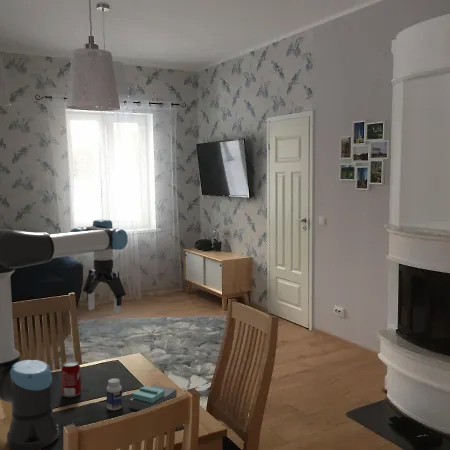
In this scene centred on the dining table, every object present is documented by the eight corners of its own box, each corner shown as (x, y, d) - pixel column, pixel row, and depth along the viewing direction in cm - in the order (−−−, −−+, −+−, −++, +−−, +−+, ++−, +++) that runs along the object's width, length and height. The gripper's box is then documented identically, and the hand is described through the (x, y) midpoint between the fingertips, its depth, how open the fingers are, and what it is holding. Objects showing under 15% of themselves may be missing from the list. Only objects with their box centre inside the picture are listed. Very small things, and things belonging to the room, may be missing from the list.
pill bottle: (114, 412, 177) (114, 384, 176) (103, 408, 180) (102, 381, 179) (125, 406, 181) (125, 379, 180) (114, 402, 184) (113, 376, 183)
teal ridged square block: (152, 403, 176) (152, 395, 176) (132, 398, 180) (132, 391, 180) (164, 395, 183) (164, 387, 182) (145, 390, 187) (145, 383, 186)
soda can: (75, 399, 187) (74, 367, 186) (58, 397, 188) (57, 365, 187) (84, 391, 193) (83, 360, 192) (67, 390, 195) (67, 359, 194)
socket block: (153, 413, 175) (152, 405, 175) (129, 407, 180) (129, 399, 180) (176, 397, 189) (176, 389, 188) (154, 392, 193) (154, 384, 193)
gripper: (134, 260, 200) (134, 313, 201) (86, 255, 212) (87, 305, 214) (121, 262, 193) (122, 317, 195) (73, 257, 205) (74, 309, 207)
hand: (104, 311), depth 204 cm, fingers open, 13 cm apart
